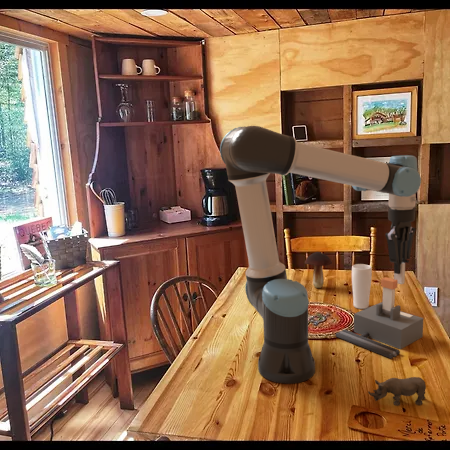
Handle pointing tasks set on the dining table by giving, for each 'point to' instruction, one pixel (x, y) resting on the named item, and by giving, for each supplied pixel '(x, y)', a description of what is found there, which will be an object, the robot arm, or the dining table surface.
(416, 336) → the switch block
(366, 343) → the cable bundle
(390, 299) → the toggle lever
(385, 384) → the rhino figurine
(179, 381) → the dining table surface
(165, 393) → the dining table surface
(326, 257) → the decorative mushroom
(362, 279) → the tall cup
